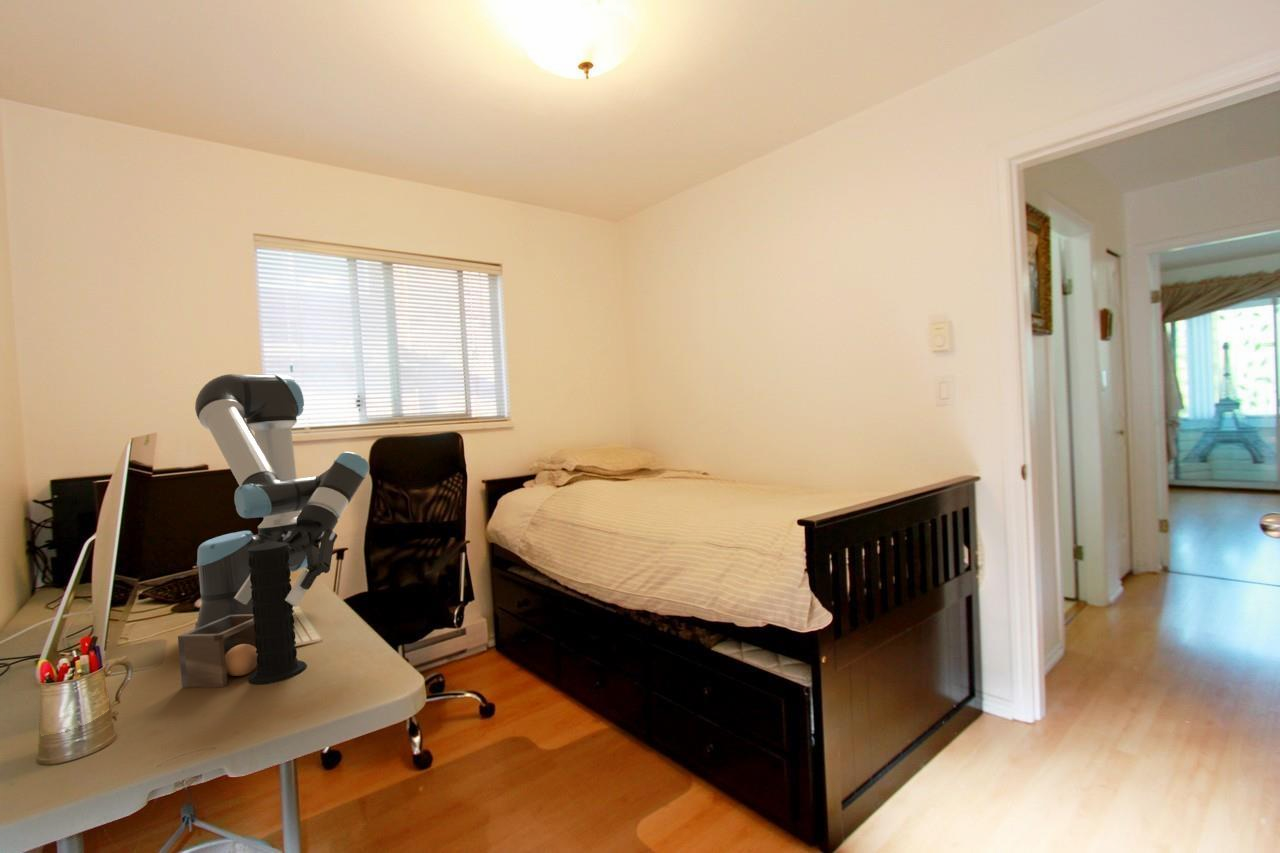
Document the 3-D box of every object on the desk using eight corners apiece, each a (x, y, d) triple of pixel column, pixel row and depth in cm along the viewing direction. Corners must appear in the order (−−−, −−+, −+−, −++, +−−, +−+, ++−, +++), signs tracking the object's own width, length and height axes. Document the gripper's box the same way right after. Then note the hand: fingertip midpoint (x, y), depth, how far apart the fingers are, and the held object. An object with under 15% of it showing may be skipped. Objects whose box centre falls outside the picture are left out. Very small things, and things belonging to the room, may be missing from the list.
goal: (234, 660, 125) (230, 614, 125) (271, 660, 123) (267, 613, 123) (182, 687, 113) (177, 636, 113) (223, 687, 112) (218, 635, 111)
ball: (268, 665, 120) (243, 664, 121) (264, 638, 119) (238, 637, 120) (244, 683, 114) (218, 681, 115) (239, 654, 113) (212, 653, 114)
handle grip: (284, 683, 111) (318, 661, 121) (273, 546, 111) (308, 535, 121) (235, 685, 112) (273, 662, 122) (224, 548, 112) (262, 537, 122)
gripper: (377, 521, 127) (326, 613, 114) (291, 523, 135) (233, 608, 122) (356, 501, 122) (300, 595, 108) (268, 504, 130) (205, 591, 116)
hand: (265, 602), depth 115 cm, fingers open, 13 cm apart
